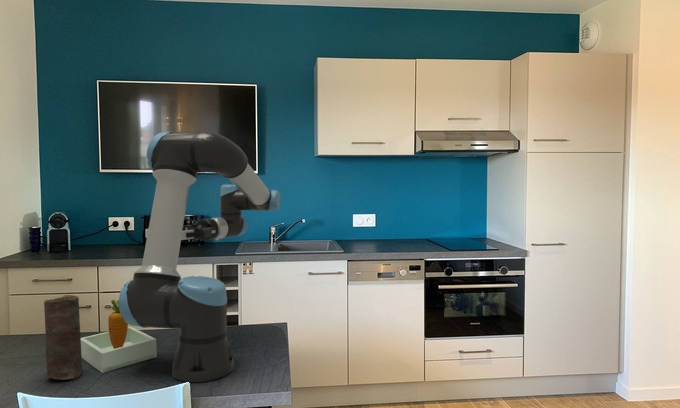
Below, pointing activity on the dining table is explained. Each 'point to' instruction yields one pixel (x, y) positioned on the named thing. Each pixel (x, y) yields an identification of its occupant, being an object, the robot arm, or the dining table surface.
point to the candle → (63, 337)
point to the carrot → (117, 326)
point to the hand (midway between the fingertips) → (160, 234)
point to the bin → (117, 350)
